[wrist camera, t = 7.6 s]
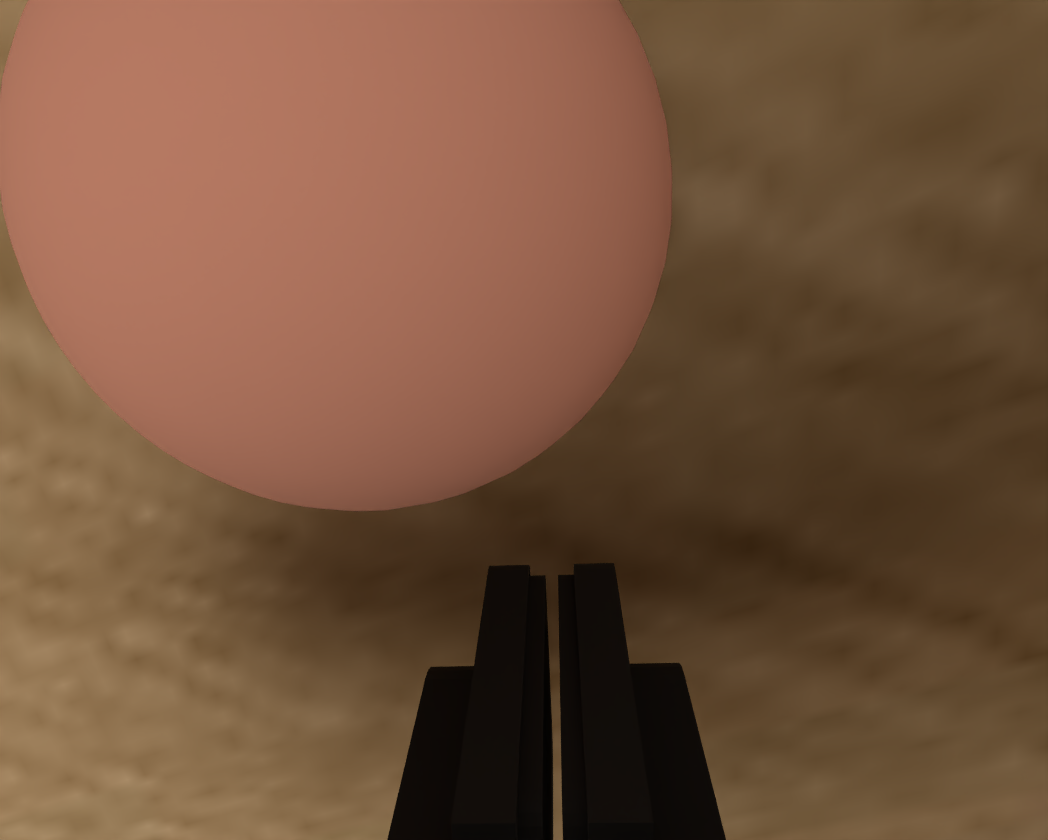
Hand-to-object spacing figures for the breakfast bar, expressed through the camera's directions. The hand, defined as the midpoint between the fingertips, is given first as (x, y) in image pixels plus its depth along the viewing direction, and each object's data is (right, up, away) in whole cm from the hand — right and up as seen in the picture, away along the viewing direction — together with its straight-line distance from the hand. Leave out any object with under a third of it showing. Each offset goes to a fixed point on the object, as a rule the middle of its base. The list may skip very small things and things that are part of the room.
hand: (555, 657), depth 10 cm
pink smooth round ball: (-2, +5, -3) cm, 6 cm away
